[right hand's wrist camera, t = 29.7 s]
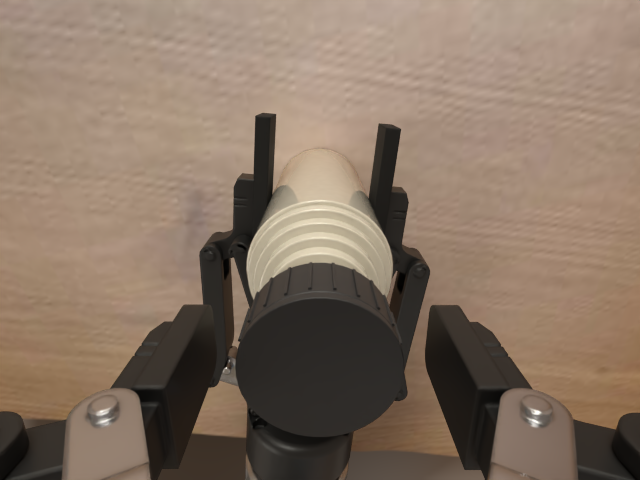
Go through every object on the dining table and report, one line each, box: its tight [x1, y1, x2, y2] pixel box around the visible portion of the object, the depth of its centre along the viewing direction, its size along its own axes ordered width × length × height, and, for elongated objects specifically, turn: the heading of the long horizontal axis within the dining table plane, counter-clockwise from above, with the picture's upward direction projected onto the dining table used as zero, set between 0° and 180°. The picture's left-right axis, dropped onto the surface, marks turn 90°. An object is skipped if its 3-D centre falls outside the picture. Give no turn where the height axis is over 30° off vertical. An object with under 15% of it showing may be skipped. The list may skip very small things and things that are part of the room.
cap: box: [235, 262, 405, 437], centre depth 11 cm, size 4×4×2 cm
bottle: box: [246, 149, 393, 300], centre depth 20 cm, size 6×6×19 cm
